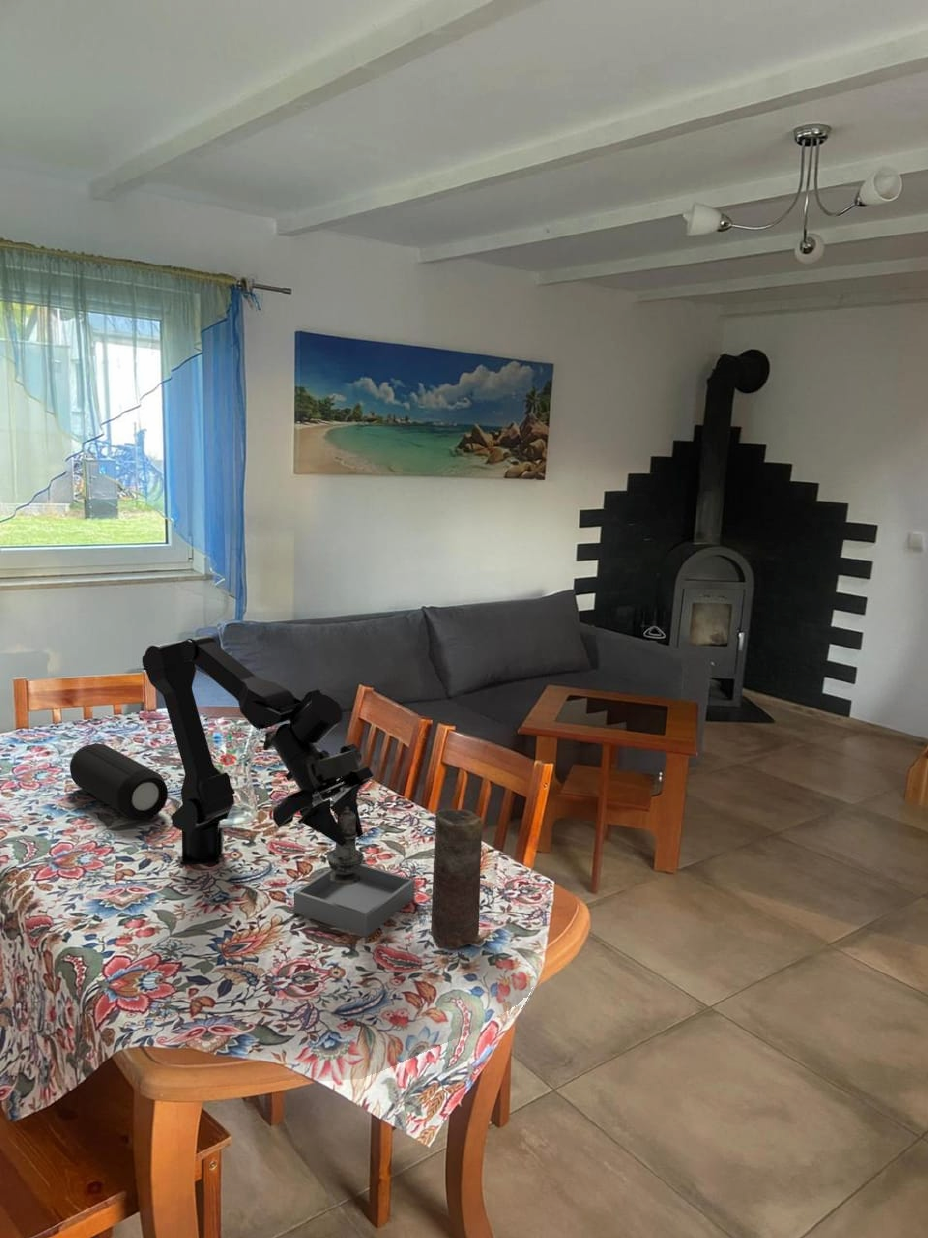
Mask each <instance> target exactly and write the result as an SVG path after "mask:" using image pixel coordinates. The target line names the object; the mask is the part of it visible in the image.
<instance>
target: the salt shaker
mask: <svg viewBox="0 0 928 1238" xmlns="http://www.w3.org/2000/svg"><path fill="white" fill-rule="evenodd" d="M345 809H346V810H345V811H342V812H340V813H339V815H338V816H337V820H336V822H337V824H338V826H339V827H340V829H341V831H342V833H343V834H344V837H345V839H346V841H347V843H346V844H345V845H344V846H341V845H339V844H337V843H336V842H335V849H333V850H331V851H329V852H328V853H327V854H326V860H327V861H328V865H329V869H330V868H331V869H332V870H333V871H332V872H331V873H329V875H328V880H329V881H330V882H332V883H334V884H337V885H351V884H355V883H357V882H359V881H360V879H361V874H360V873H359V872H357V870H358V869H359V868H360V866H361V864H363V863H362V862H363V860H365V859H364V858H365V856H364V853H362V851H360V850H358V849H357V848H356V846H357V845H356V840H357V839H356V838H357V835H358V833H357V832H356V831H355V829H356V815H355V814H354V813H353V812H351V811H349V807H348V806H347V807H346V808H345Z"/></svg>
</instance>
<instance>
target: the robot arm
mask: <svg viewBox="0 0 928 1238" xmlns="http://www.w3.org/2000/svg"><path fill="white" fill-rule="evenodd" d="M142 666H143V668H144V671H145V674H146V675H147V679H148V680H149V683H150V685H151V686H153V688H155V689H156V690H157V691H158V692H159V693H160V694H161V695H162V696H163V697H162V698H163V699H164V704H165V706H166V710H167V714H168V717H169V718H168V719H169V721H170V723H171V724H170V725H171V728H172V731H173V735H174V739H175V743H176V747H177V749H178V753H179V756H180V760H181V764H182V768H183V771H184V778H183V781H182V785H181V790H180V797H181V802H182V804H181V806H179V807H178V809H176V810H175V811H174V812H173V814H171V817H170V818H171V823H172V826H173V828H175V829H177V830H179V831H181V857H180V859H179V863H180V864H197V863H198V864H201V863H202V864H204V863H205V864H210V863H211V864H212V863H213V864H214V863H218V862H219V859H220V856H221V855H222V854H223V851H224V828H223V827H221V822H222V821H224V820H227V819H228V818H229V815H230V812H231V809H232V807H233V805H234V804H235V799H234V798H235V797H234V795H235V793H236V792H235V789H233V786H232V783H231V778H230V775H229V773H228V772H226V771H225V772H223V773H222V772H221V771H220V770H219V769H218V768H216V766H215V765H214V762H213V759H212V755H211V752H210V748H209V745H208V741H207V737H206V734H205V729H204V726H203V723H202V719H201V716H200V712H199V709H198V706H197V702H196V698H195V695H194V690H193V685H194V682H195V681H194V680H195V677H196V674H197V669H196V666H197V668H199V669H200V670H202V671H203V672H204V673H205V674H206V675H207V676H208V677H210V678H211V679H212V680H213V681H214V682H216V683H217V684H218V685H219V686H220V687H221V688H223V689H224V690H225V691H226V692H227V693H228V694H230V695H231V696H232V697H234V698H235V700H236V701H237V702H238V707H239V712H240V714H242V715H243V716H244V718H245V719H246V720H247V721H248V722H249V723H250V724H251V726H252V727H254V728H255V729H258V730H264V729H267V728H271V727H274V726H277V725H280V724H281V725H280V726H278V727H277V729H276V730H271V731H269V732H265V734H264V735H265V739H264V741H263V744H262V748H263V749H262V750H263V751H268V750H270V749H273V748H274V750H275V751H276V753H277V755H278V756H279V758H280V759H281V761H282V763H283V764H284V766H285V767H286V769H287V773H286V774H285V776H284V777H285V778H286V780H287V781H288V782H289V781H292V780H293V781H294V782H295V784H296V785H297V787H298V789H299V791H296V792H295V793H292V794H289V795H288V796H286V798H284V799H283V800H282V801H281V802H279V804H278V805H276V807H275V808H273V810H272V820H273V821H274V822H275V824H276V826H277V828H282V827H284V826H286V825H288V824H291V823H292V822H293V820H294V817H295V814H297V813H299V815H300V816H301V818H299V819H298V820H297V824H298V825H301V824H304V825H305V826H307V827H309V828H311V829H313V830H315V831H317V832H318V833H320V834H321V835H323V836H325V837H327V838H328V839H329V840H330V841H332V842H335V844H336V843H337V844H339V845H341V846H344V845H345V844H346V843H347V841H346V839H345V837H344V834H343V833H342V831H341V829H340V827H339V826H338V824H337V820H336V819H335V817H334V815H333V813H334V814H335V815H336V816H337V817H338V815H339V813H340V812H342V811H345V810H346V809H345V808H346V807H347V806H348V807H349V811H351V812H353V813H354V814H355V815H356V829H355V831H356V832H357V833H358V835H357V836H356V838H358V839H359V838H360V837H362V836H363V835H364V833H363V826H362V823H361V819H360V815H359V813H360V812H359V810H358V805H357V804H358V803H357V798H358V795H359V792H360V790H361V789H362V788H363V787H364V786H365V785H366V784H367V783H369V782H370V781H371V780H372V779H373V778H374V777H375V775H374V773H373V772H372V770H371V769H370V767H369V766H368V765H364V764H361V765H359V763H360V762H361V761H362V759H363V755H362V753H361V751H360V749H359V748H358V747H357V745H356V744H355V743H354V742H352V743H348V744H346V745H344V746H341V747H340V752H339V753H338V754H335V755H330V753H329V752H328V750H325V749H323V750H321V751H319V749H318V747H317V746H316V743H318V742H320V741H322V740H323V739H324V738H325V737H326V736H327V735H328V734H329V733H330V732H331V731H332V730H333V729H334V728H336V727H337V726H338V725H339V724H340V723H341V721H342V720H343V717H344V716H343V710H342V707H341V705H340V704H339V702H338V701H336V700H334V699H333V698H332V697H330V696H329V695H326V694H322V693H321V690H320V689H319V688H315V689H312V690H309V691H308V692H306V694H305V695H304V697H303V698H302V699H301V698H299V697H297V696H294V695H293V693H292V692H291V691H290V689H289V690H288V689H287V688H286V687H284V686H282V685H280V684H278V683H277V682H274V681H270V680H268V679H263V678H260V677H258V676H257V675H256V674H254V673H252V672H251V671H250V670H249V669H248V668H246V667H245V666H244V665H243V664H241V663H240V662H239V661H238V660H237V659H236V658H234V657H233V656H232V655H231V654H229V653H228V651H226V650H224V648H222V647H221V646H220V645H218V644H217V642H216V640H215V638H214V637H212V636H208V635H201V636H195V637H190V638H187V639H185V640H175V641H170V642H165V643H160V644H155V645H150V646H148V647H147V648H146V650H145V652H144V655H143V656H142ZM288 721H289V723H286V722H288ZM331 800H332V802H333V804H331ZM332 812H333V813H332Z"/></svg>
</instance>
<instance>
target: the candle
mask: <svg viewBox="0 0 928 1238" xmlns="http://www.w3.org/2000/svg"><path fill="white" fill-rule="evenodd" d="M434 817H435V823H434V851H433V852H434V853H433V855H434V856H433V875H432V877H433V879H432V880H433V882H432V902H431V925H430V926H431V928H430V929H431V931H430V933H431V936H432V939H433V941H434V942H433V943H435V945H437V946H439V947H441V948H450V949H458V948H460V947H462V946H466V945H469V944H473V943H474V942H475V941H476V940H477V938H478V936H479V932H480V931H479V930H480V913H481V912H480V905H481V904H480V903H481V901H480V900H481V899H480V898H481V870H482V869H481V867H482V840H483V819H482V818H481V817H480V816H477V815H476V814H475V813H474V812H472V811H470V810H468V809H458V808H456V809H455V808H442V809H439V810H438V811H437V812H436V813H435V816H434Z"/></svg>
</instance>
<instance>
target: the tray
mask: <svg viewBox="0 0 928 1238" xmlns="http://www.w3.org/2000/svg"><path fill="white" fill-rule="evenodd" d="M332 871H333V870H332V869H331V868H330V867H329V869H327V870H325V871H324V872H322V873H321V874H319V875H318V876H316V877H315V878H313V879H311V880H310V881H308V882H307V883H306V884H304V885H302V886H300V887H299V888H298V889H296V890H294V891H293V913H295V914H297V915H300V916H303V917H306V918H309V919H312V920H315V921H317V922H320V923H323V924H326V925H330V926H332V927H335V928H338V929H342V930H343V931H347V932H350V933H353V934H356V935H358V936H361V937H365V938H368V937H369V936H370V935H371V934H373V933H374V932H375V931H377V929H379V928H380V927H382V926H383V925H384V924H385V923H387V922H388V921H389V920H390V919H391V918H393V917H394V916H395V915H397V914H398V913H399V912H400V911H401V910H402V909H404V908H405V907H407V906H408V905H409V904H410V903H411V902H413V900H415V885H416V884H415V883H416V881H415V880H416V879H414V878H411V877H407V876H404V875H400V874H397V873H394V872H391V871H387V870H383V869H381V868H376V867H373V866H372V865H371V866H370V865H367V864H364V863H361V866H360V868H359V869H358V870H357V872H359V873H360V874H361V879H360V881H359V882H357V883H355V884H351V885H337V884H334V883H332V882H330V881H329V880H328V875H329V873H331V872H332Z"/></svg>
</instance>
